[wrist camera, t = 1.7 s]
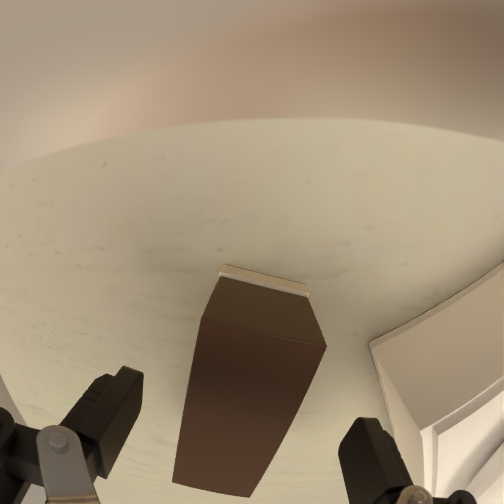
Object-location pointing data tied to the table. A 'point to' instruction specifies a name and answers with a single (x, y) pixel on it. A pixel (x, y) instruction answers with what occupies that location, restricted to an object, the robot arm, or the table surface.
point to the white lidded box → (450, 391)
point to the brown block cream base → (245, 380)
